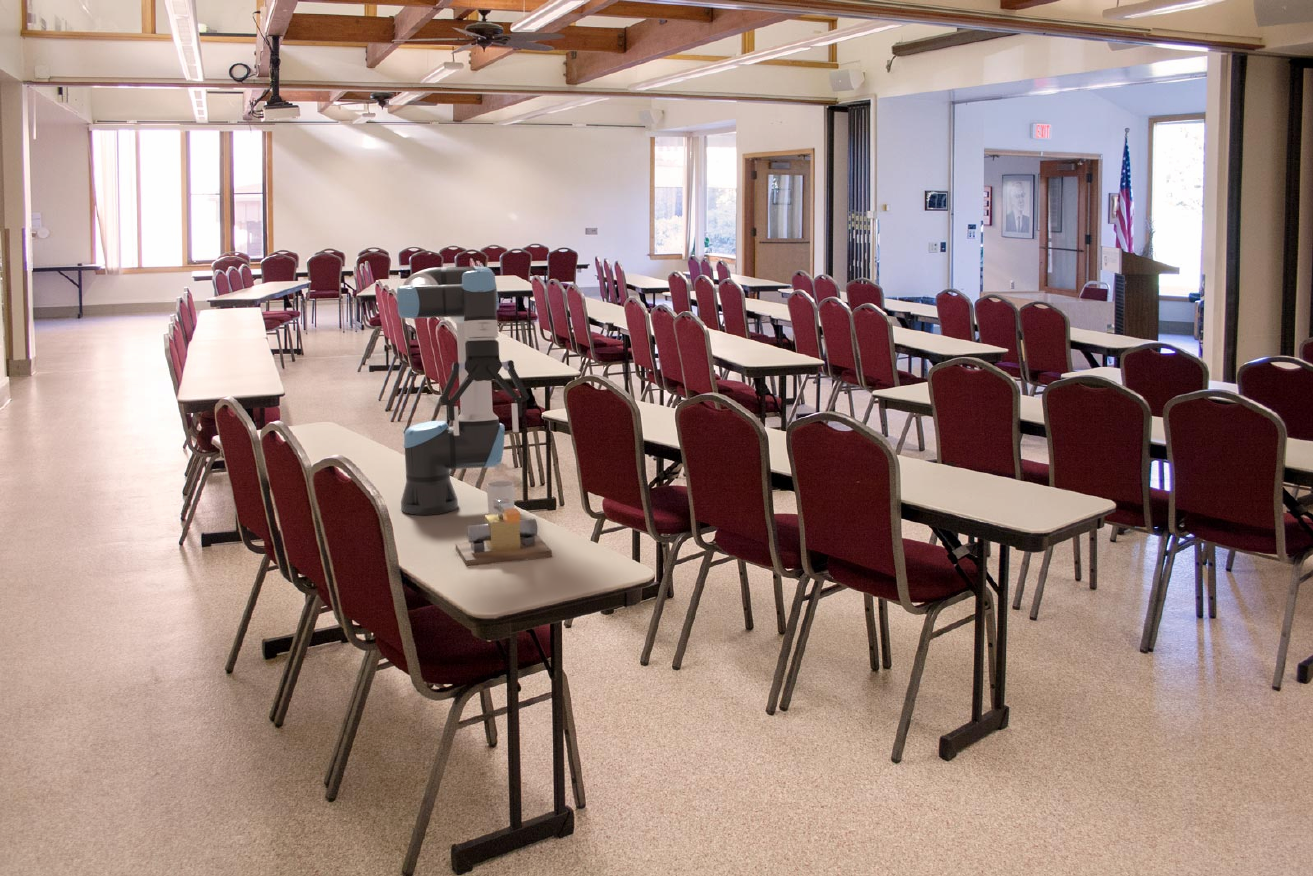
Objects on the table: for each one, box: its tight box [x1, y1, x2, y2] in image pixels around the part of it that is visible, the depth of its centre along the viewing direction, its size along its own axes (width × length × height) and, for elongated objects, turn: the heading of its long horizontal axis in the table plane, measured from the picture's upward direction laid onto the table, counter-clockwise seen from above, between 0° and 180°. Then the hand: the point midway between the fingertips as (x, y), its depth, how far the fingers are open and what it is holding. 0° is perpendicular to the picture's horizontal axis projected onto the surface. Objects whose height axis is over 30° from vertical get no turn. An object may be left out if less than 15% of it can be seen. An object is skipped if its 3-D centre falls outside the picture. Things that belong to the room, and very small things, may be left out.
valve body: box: [466, 510, 538, 553], centre depth 265 cm, size 7×16×9 cm, turn 110°
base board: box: [454, 534, 553, 567], centre depth 266 cm, size 14×20×2 cm
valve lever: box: [493, 498, 521, 524], centre depth 259 cm, size 15×4×2 cm, turn 20°
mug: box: [486, 480, 515, 515], centre depth 286 cm, size 10×7×12 cm, turn 19°
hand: (486, 433), depth 256 cm, fingers open, 13 cm apart
